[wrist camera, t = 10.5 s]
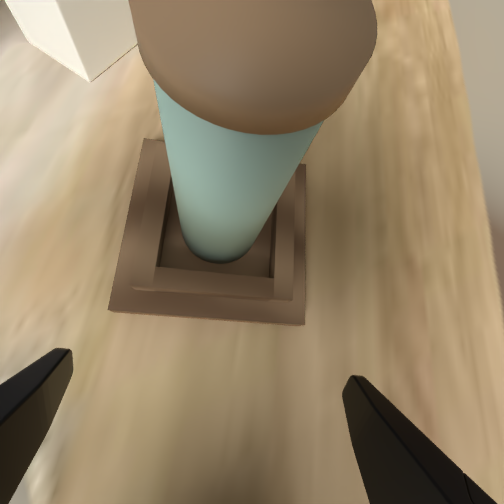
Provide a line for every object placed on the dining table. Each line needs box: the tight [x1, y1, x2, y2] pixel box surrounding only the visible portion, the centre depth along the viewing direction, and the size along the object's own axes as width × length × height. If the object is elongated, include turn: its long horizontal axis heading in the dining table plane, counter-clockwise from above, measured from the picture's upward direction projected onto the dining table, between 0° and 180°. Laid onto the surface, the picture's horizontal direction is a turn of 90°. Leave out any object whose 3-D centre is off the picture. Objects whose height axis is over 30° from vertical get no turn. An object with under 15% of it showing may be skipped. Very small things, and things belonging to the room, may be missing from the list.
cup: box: [128, 0, 377, 264], centre depth 13 cm, size 5×5×14 cm
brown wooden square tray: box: [108, 138, 306, 326], centre depth 19 cm, size 12×12×3 cm
